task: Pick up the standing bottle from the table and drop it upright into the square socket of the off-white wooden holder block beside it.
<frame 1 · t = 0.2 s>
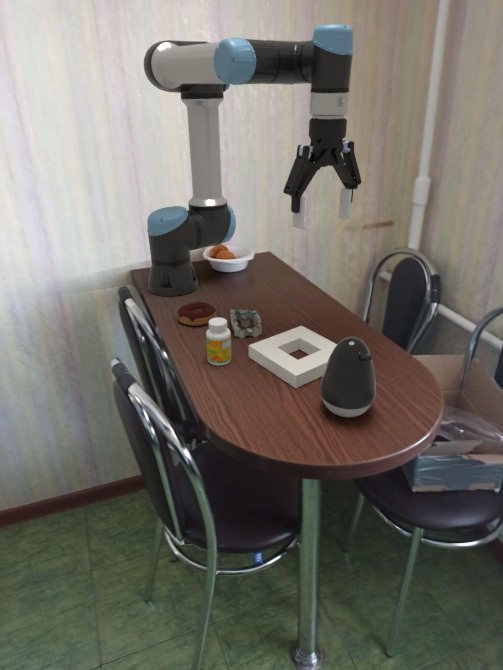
hand: (321, 222, 105), 28 cm above the table, tool pointing down, fingers open, 13 cm apart
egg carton: (245, 329, 121), on the table
supplement bottle: (219, 360, 107), on the table
socket holder: (298, 360, 107), on the table
donut: (197, 320, 126), on the table
pump dispenser: (345, 409, 91), on the table
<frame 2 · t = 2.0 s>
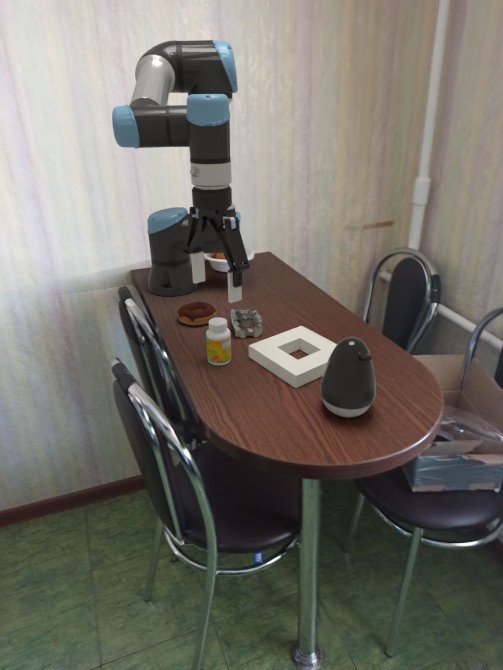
hand: (216, 291, 99), 17 cm above the table, tool pointing down, fingers open, 13 cm apart
nothing on the table moved.
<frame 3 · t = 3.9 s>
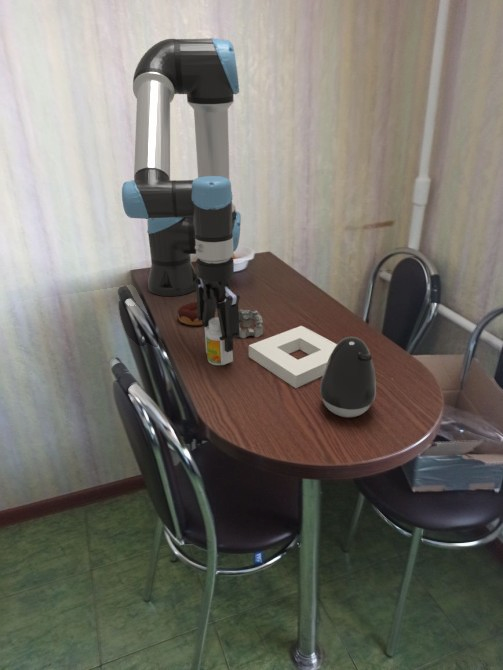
hand: (219, 356, 107), 1 cm above the table, tool pointing down, fingers closed on supplement bottle, 5 cm apart
supplement bottle: (219, 360, 107), on the table, touching gripper
everything else where it was.
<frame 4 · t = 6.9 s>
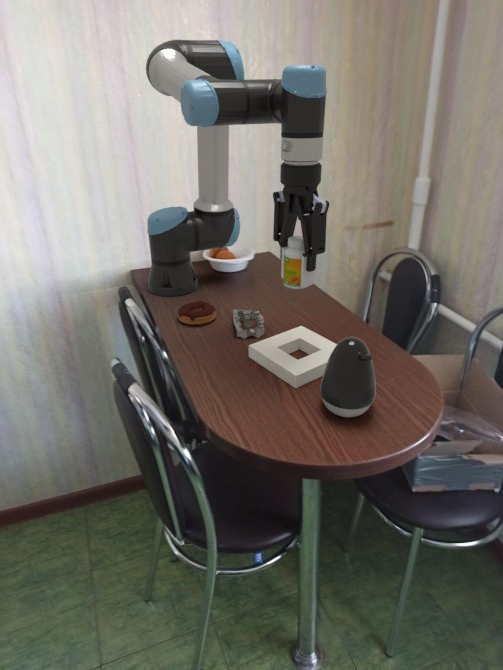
hand: (296, 280, 97), 19 cm above the table, tool pointing down, fingers closed on supplement bottle, 5 cm apart
supplement bottle: (296, 285, 98), point 18 cm above the table, touching gripper
everything else where it was.
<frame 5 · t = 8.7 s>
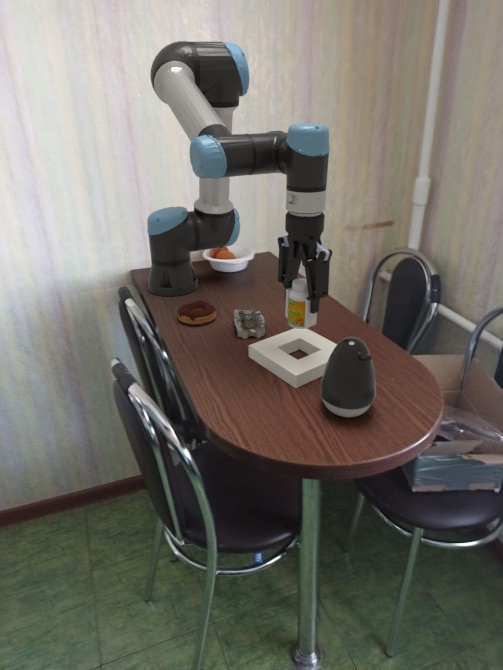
hand: (300, 320, 102), 10 cm above the table, tool pointing down, fingers closed on supplement bottle, 5 cm apart
supplement bottle: (300, 324, 102), point 9 cm above the table, touching gripper
everything else where it was.
when the fingers open (4 cm above the table, at t = 10.1 s): supplement bottle drops 3 cm, resting in socket holder.
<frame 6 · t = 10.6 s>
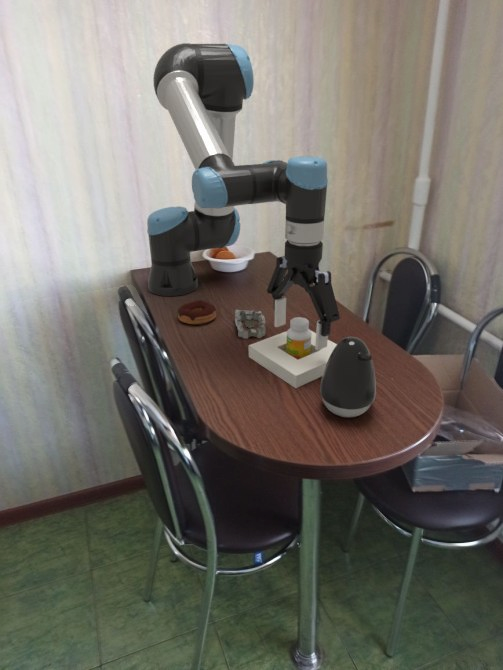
hand: (299, 336, 104), 6 cm above the table, tool pointing down, fingers open, 13 cm apart
supplement bottle: (297, 360, 107), resting in socket holder
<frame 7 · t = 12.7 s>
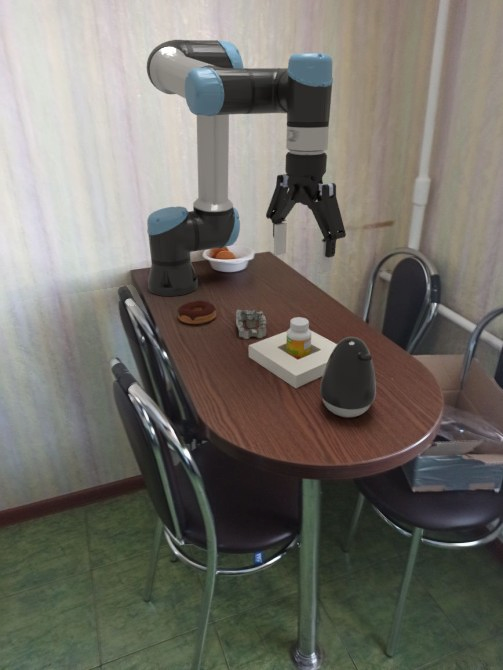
hand: (301, 262, 97), 23 cm above the table, tool pointing down, fingers open, 13 cm apart
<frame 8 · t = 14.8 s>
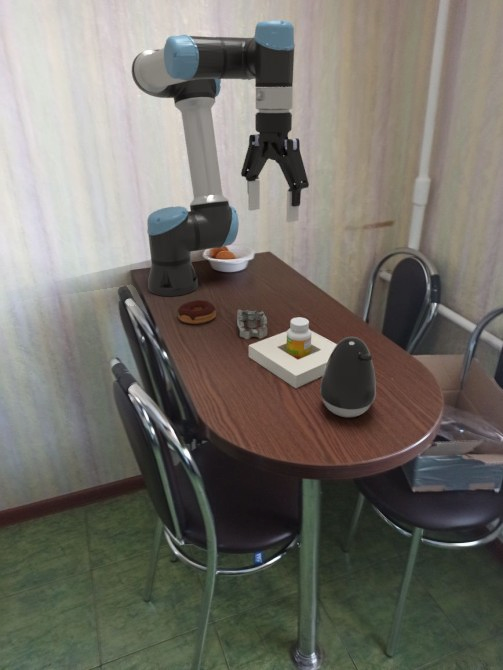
hand: (272, 215, 107), 29 cm above the table, tool pointing down, fingers open, 13 cm apart
at the end: supplement bottle 0.2 cm off-centre on the socket holder, point 0.0 cm above the socket holder's base; supplement bottle tilted 0°; the gripper is holding nothing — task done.
